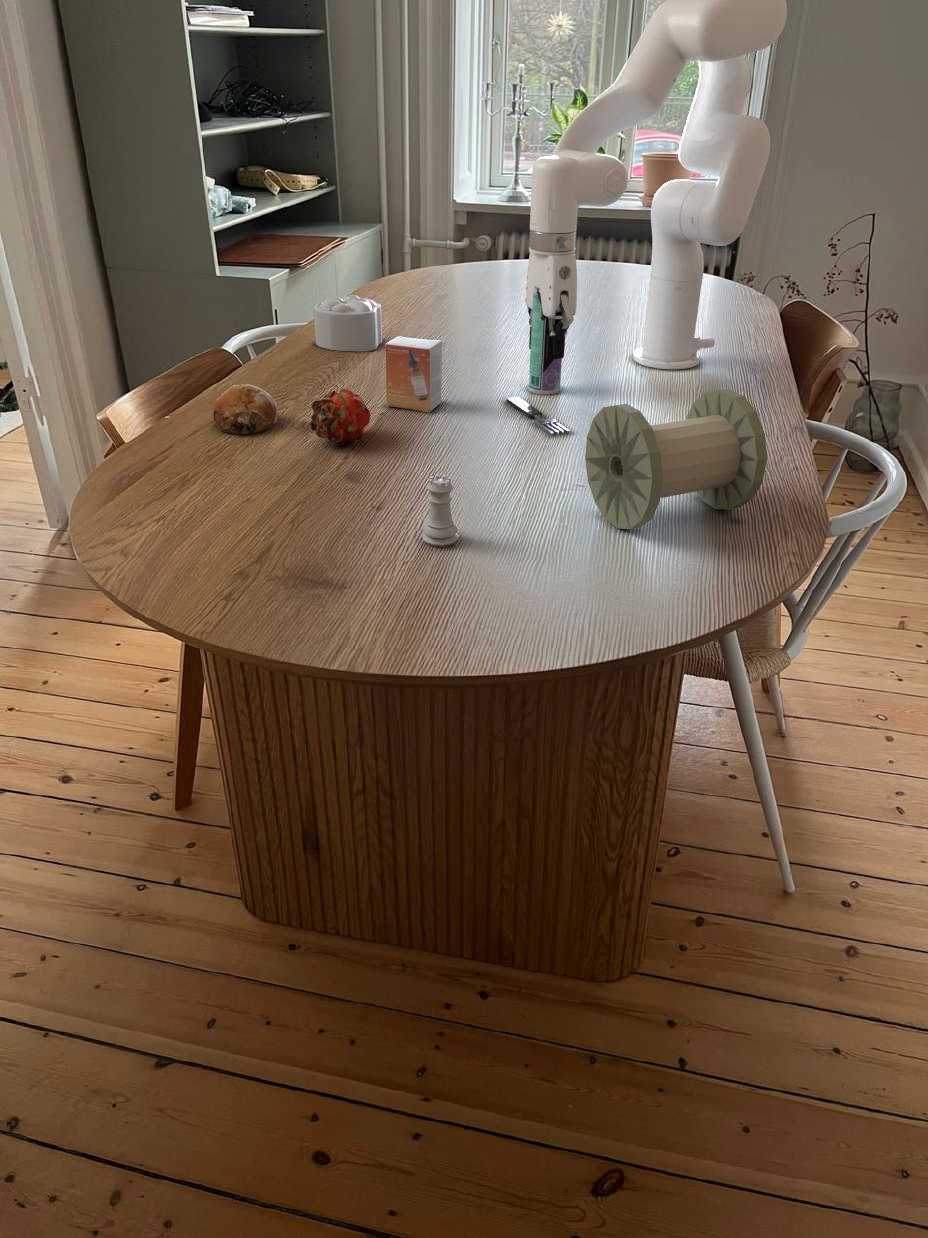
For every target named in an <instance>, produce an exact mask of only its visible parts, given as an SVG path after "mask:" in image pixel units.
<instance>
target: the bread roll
mask: <svg viewBox="0 0 928 1238" xmlns="http://www.w3.org/2000/svg"><path fill="white" fill-rule="evenodd" d="M278 410H279V408H278V405H277V403H276V401H275V399H274V398H273V396H272V395H271V394H269V393H268V392H267V391H266V390H265V389H262V388H260V387H259V386H257V385H253V384H249V383H243V384H233V385H231V386H230V387H229V388H227V389H226V390H224V391H223V392H222V393H221V395H220V396H219V397H218V398H216V399H215V402H214V405H213V407H212V414H213V422H214V425H215V426H216V428H217V429H218V430H219V431H221V432H223V433H227V434H234V435H250V434H256V433H260V432H264V431H266V430H271V428H272V427H273V426H274V425H275V424H276V423H277V418H278Z"/></svg>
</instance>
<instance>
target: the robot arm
mask: <svg viewBox="0 0 928 1238" xmlns="http://www.w3.org/2000/svg"><path fill="white" fill-rule="evenodd" d="M787 17H788V5H787V0H667V1H664V2H663V3H661V4H660V5H659V6H658V7H657V8H656V10H655V11H654V12H653V14H652V16H651V17H650V19H649V21H648V22H647V25H646V26H645V28H644V30H643V31H642V33H641V35H640V36H639V39H638V41H637V43H636V44H635V46H634V48H633V50H632V52H631V54H630V55H629V57H628V59H627V61H626V62H625V64H624V65H623V67H622V69H621V71H620V73H619V75H618V76H617V78H616V80H615V81H614V82H613V83H612V84H611V85H610V86H609V87H608V88H607V89H605V90H603V92H601V93H600V94H599V95H598V96H596V98H595V99H593V100H592V101H591V102H589V103H588V105H586V106H585V107H584V108H582V110H580V111H579V112H578V114H576V115H575V117H574V118H573V119H572V120H571V121H570V123H569V124H568V125H567V127H566V129H565V130H564V132H563V133H562V135H561V136H560V138H559V140H558V142H557V144H556V146H555V148H554V149H553V151H552V152H551V155H550V156H542V157H539V158H537V159H536V160H535V161H534V162H533V165H532V172H531V191H530V193H531V194H530V214H529V215H530V216H529V219H530V220H529V237H528V238H529V239H528V241H529V242H528V252H529V257H528V262H527V263H528V265H527V273H526V282H525V283H526V285H525V286H526V287H525V288H526V289H525V298H524V299H525V304H526V306H527V313H528V316H529V319H528V325H529V336H528V337H529V338H528V339H529V342H528V349H529V350H531V328H532V307H533V290H534V289H535V288H534V286H535V287H537V288H540V290H539V292H540V294H541V303H542V311H543V315H545V316H546V317H548V323H549V333H550V335H547V347H546V359H548V360H553V359H561V358H562V359H564V357H565V346H566V336H567V335H568V330H569V328H570V326H571V325H572V324H573V322H574V316H575V315H576V314H577V302H578V266H577V257H576V254H575V253H576V243H577V226H578V212H579V207H580V206H589V207H600V208H602V207H608V206H611V205H613V204H615V203H616V202H617V201H619V200H620V199H621V198H622V196H623V195H624V194H625V192H626V190H627V188H628V181H629V176H628V171H627V168H626V167H625V165H624V163H623V162H622V161H621V160H620V159H618V158H617V157H615V156H611V155H609V154H604V153H597V152H598V151H599V149H600V148H601V147H602V146H603V145H604V144H605V143H606V142H608V140H610V139H612V138H613V137H614V136H616V135H618V134H620V133H622V132H624V131H626V130H628V129H631V128H634V127H636V126H638V125H641V124H643V123H646V122H647V121H649V120H651V119H653V118H655V117H656V116H657V115H658V114H659V113H660V112H661V110H662V109H663V106H664V105H665V103H666V101H667V100H668V98H669V96H670V94H671V92H672V91H673V89H674V88H675V85H676V83H677V82H678V80H679V78H680V76H681V75H682V73H683V72H684V70H685V68H686V66H687V65H688V64H689V63H690V62H691V63H692V62H698V67H699V77H698V78H699V79H698V84H697V87H696V91H695V94H694V98H693V101H692V104H691V107H690V111H689V113H688V116H687V120H686V124H685V126H684V129H683V133H682V137H681V139H680V144H679V148H678V160H679V163H680V165H681V166H682V167H683V169H685V170H687V171H689V172H692V173H696V174H699V175H700V174H701V175H705V176H715V177H718V179H717V182H716V183H712V182H707V181H699V180H692V179H674V180H670V181H668V182H666V183H664V184H663V185H662V186H660V188H658V190H657V191H656V193H655V194H654V196H653V199H652V202H651V205H650V206H651V207H650V226H651V236H652V237H651V238H652V239H651V240H652V248H651V262H650V273H649V280H648V289H647V298H646V299H647V300H646V307H645V315H644V316H645V317H644V325H643V326H644V327H643V335H642V345H641V347H639V348H636V349H635V350H634V351H633V353H632V360H633V361H634V362H635V363H637V364H639V365H642V366H644V367H648V368H653V369H660V370H685V369H686V370H687V369H691V368H694V367H696V366H698V365H699V363H700V362H701V361H700V360H701V356H700V355H699V354H698V352H699V351H701V350H702V349H712V348H714V346H715V339H714V337H711V336H710V337H704V338H701V336H700V335H698V336H697V335H696V329H697V321H698V315H699V314H698V313H699V306H700V305H699V304H700V299H701V291H702V284H703V278H704V271H705V260H704V253H703V250H702V245H701V244H704V245H710V246H717V247H723V246H728V245H731V244H732V243H734V242H735V241H736V240H737V239H738V238H739V237H740V235H741V233H742V232H743V230H744V229H745V226H746V224H747V222H748V219H749V216H750V214H751V211H752V209H753V205H754V202H755V200H756V196H757V193H758V191H759V188H760V185H761V182H762V180H763V176H764V173H765V171H766V168H767V164H768V162H769V158H770V153H771V151H770V150H771V135H770V131H769V128H768V126H767V125H766V123H765V122H764V121H763V120H762V119H760V118H759V117H756V116H752V115H745V114H743V111H744V107H745V103H746V101H747V96H748V93H749V88H750V73H749V68H748V64H747V61H746V58H745V55H749V54H752V53H756V52H759V51H762V50H764V49H765V50H766V49H767V48H768V47H770V46H771V45H773V44H774V43H775V42H776V41H777V40H778V39H779V38H780V35H781V34H782V32H783V30H784V27H785V25H786V22H787ZM555 312H561V315H559V316H555V315H556V314H555ZM554 320H560V322H558V323H557V325H556V326H555V321H554Z"/></svg>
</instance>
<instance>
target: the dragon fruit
mask: <svg viewBox="0 0 928 1238" xmlns="http://www.w3.org/2000/svg"><path fill="white" fill-rule="evenodd" d="M311 409H312V411H313V413H312V415H311V416H310V418H311V422H310V423H309V426H310V430H311V431H315V434H316V436H317V437H318V438H322V439H327V440H328V442H329V444H332V445H335V446H337V447H342V446H343V445H344V444H345V443H346V442H347V441H350V442H352V443H355V442H357V441H358V443H360V442H361V441H362V440H363V439H364V433H363V431H364V430H365V428H366V427H367V426H368V425H369V424H370V420H371V411H370V410H369V408H368V406H366V403H365V401H364V400H363V398H362V397H361V396H360V395H359V393H356V392H354V393H353V391H352V390H351V389H349V388H345V387H344V388H342V389H340V390H339V391H338V392H337V391H336V390H333V391H330V392H329V393H327V394H325V395H324V397H323V398H322V399H317V400H314V401H313V402H311Z"/></svg>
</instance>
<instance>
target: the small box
mask: <svg viewBox="0 0 928 1238" xmlns="http://www.w3.org/2000/svg"><path fill="white" fill-rule="evenodd" d="M384 362H385V364H384V365H385V367H384V368H385V405H386V407H394V408H400V409H406V410H413V411H419V412H422V413H423V412H424V413H431V412H432V411H433V410H434V409H436V408H437V407H438V406H439V405H440V404H441V403H443V402H442V398H443V397H442V396H443V395H442V393H443V389H442V388H443V386H442V385H443V341H442V340H438V339H436V340H435V339H426V338H425V339H424V338H414V337H406V336H401V335H398V336H396V337H394V338H393V339H391V340H389V341H388V342H386V343H385V345H384Z"/></svg>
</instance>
